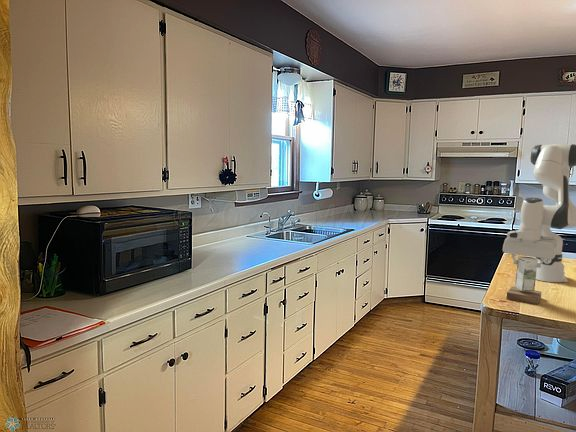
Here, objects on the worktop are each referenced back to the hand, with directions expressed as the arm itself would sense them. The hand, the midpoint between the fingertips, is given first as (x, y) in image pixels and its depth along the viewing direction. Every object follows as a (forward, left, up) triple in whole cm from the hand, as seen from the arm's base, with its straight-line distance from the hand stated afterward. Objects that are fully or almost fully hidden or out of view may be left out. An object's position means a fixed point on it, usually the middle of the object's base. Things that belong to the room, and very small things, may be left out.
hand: (526, 265), depth 190 cm
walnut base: (0, 0, -15) cm, 15 cm away
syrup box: (0, 0, -11) cm, 11 cm away
